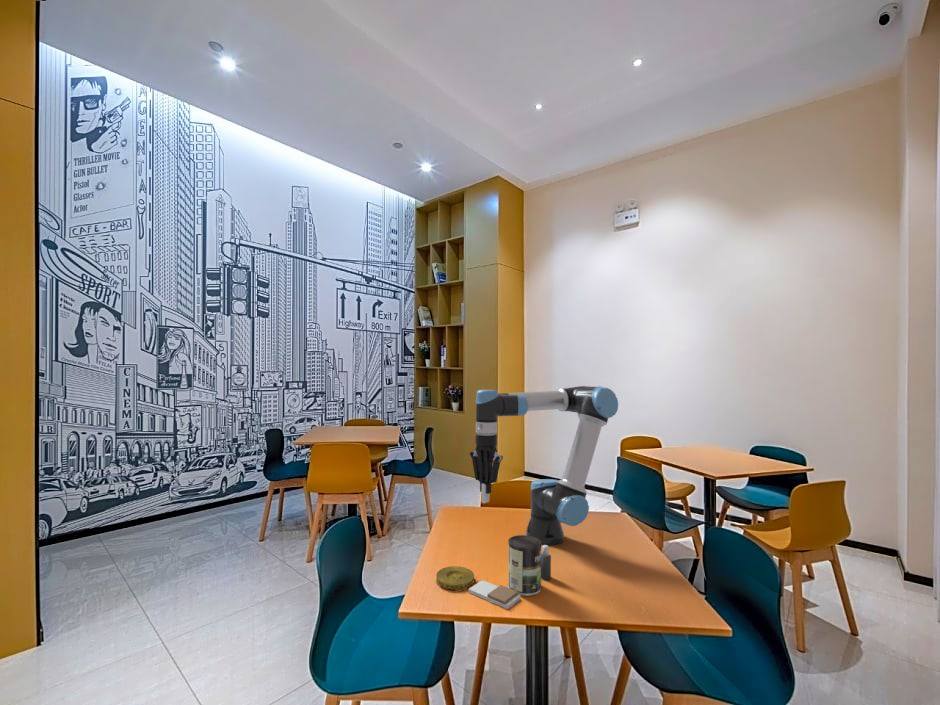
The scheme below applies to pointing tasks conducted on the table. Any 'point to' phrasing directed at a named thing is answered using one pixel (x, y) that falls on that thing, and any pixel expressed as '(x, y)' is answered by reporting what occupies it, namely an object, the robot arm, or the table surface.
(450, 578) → the olive gold disc
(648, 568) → the table surface
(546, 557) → the grey white-capped bottle
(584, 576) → the table surface
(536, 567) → the coffee can
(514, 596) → the white and brown box
